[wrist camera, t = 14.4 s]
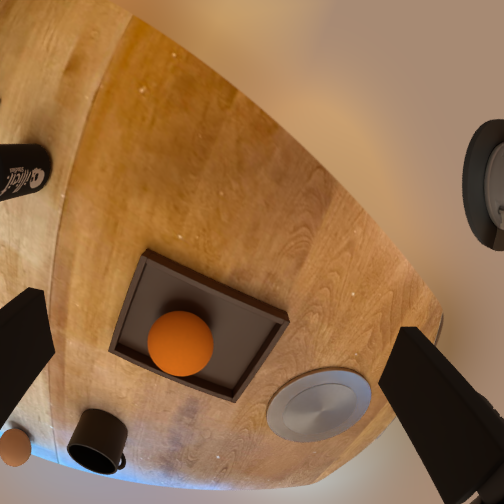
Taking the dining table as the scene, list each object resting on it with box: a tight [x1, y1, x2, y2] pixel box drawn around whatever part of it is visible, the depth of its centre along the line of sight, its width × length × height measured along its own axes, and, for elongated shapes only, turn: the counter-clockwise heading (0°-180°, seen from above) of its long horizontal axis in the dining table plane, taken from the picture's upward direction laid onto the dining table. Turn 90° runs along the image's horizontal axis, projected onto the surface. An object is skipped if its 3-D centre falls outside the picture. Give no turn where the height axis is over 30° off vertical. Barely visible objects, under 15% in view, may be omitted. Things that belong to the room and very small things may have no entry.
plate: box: [266, 367, 371, 442], centre depth 45 cm, size 18×18×1 cm
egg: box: [0, 429, 31, 467], centre depth 41 cm, size 8×8×11 cm
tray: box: [108, 249, 290, 403], centre depth 38 cm, size 20×16×3 cm
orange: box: [147, 311, 214, 376], centre depth 35 cm, size 8×8×8 cm
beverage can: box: [0, 144, 50, 201], centre depth 26 cm, size 7×7×12 cm
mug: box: [67, 409, 127, 475], centre depth 41 cm, size 9×12×9 cm
